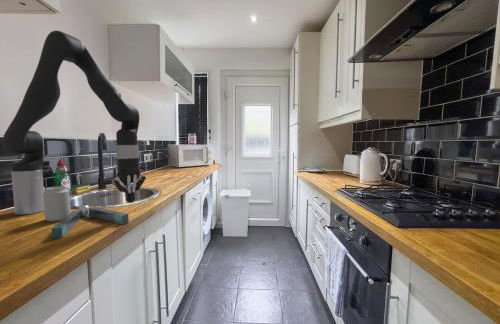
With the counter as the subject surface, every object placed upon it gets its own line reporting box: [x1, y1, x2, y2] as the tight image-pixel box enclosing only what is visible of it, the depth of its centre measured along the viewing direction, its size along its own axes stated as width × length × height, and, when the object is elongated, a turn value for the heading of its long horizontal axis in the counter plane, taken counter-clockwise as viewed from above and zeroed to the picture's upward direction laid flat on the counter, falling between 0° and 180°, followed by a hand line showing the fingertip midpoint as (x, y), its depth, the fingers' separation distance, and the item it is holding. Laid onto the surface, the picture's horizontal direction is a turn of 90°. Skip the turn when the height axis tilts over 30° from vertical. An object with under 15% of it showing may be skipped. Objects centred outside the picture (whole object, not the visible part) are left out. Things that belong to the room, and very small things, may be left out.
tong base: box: [51, 204, 90, 240], centre depth 82 cm, size 24×4×4 cm, turn 22°
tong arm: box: [89, 206, 130, 225], centre depth 87 cm, size 20×2×3 cm, turn 62°
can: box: [43, 185, 72, 223], centre depth 88 cm, size 8×8×12 cm
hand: (130, 202), depth 92 cm, fingers closed
